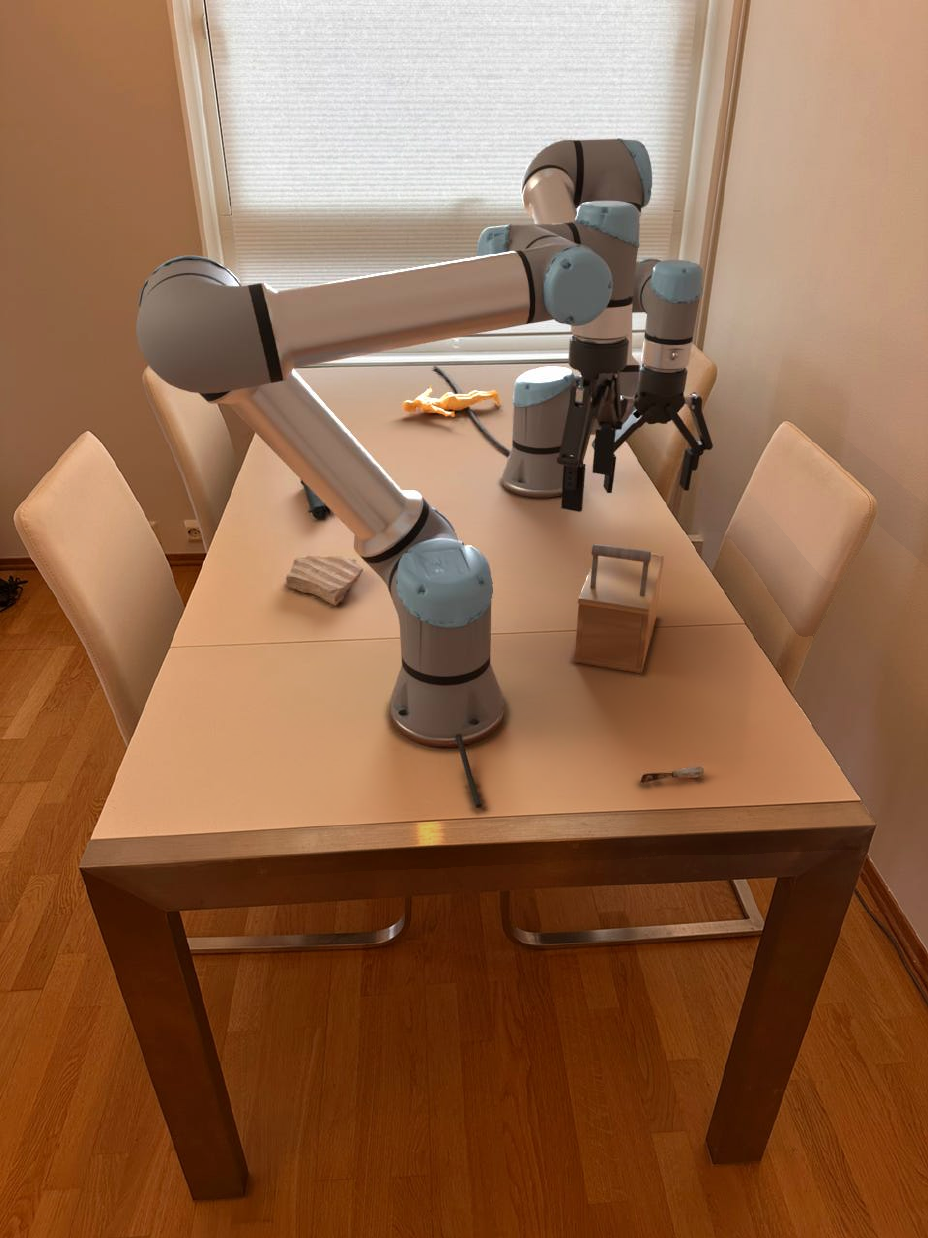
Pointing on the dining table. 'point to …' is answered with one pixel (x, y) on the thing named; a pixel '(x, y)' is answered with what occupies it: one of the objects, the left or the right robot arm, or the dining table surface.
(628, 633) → the chest
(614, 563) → the lid
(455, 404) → the human figure
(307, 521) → the dining table surface
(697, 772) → the putty knife
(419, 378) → the dining table surface
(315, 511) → the handgun
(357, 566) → the stone
